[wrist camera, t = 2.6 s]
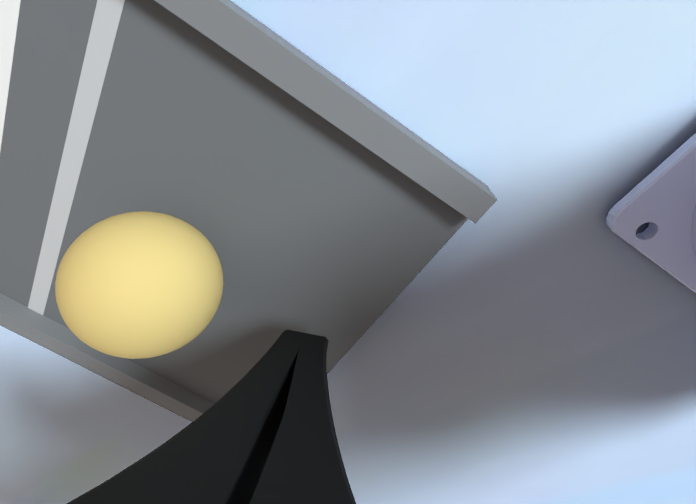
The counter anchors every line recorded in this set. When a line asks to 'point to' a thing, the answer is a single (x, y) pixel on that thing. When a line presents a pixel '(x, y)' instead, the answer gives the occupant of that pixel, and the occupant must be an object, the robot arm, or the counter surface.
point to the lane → (209, 180)
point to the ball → (139, 285)
